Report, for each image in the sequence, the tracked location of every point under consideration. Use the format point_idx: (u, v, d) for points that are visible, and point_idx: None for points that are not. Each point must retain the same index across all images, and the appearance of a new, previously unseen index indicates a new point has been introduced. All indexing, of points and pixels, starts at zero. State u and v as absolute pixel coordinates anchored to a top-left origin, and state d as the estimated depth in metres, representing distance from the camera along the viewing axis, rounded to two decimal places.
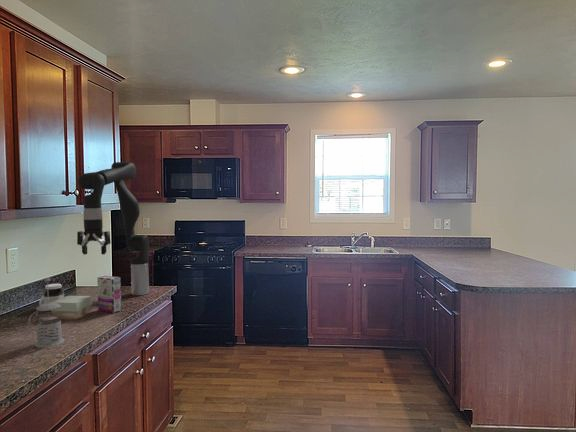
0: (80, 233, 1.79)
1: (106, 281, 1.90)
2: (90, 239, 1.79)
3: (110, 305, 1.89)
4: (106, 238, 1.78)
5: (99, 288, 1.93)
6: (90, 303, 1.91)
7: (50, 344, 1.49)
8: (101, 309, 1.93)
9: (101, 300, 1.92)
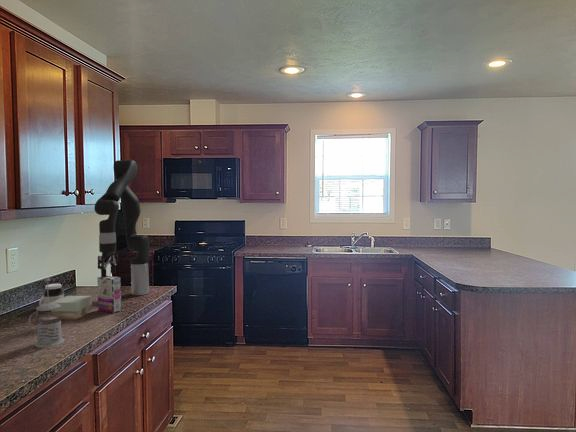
0: None
1: (106, 281, 1.90)
2: None
3: (110, 305, 1.89)
4: (117, 258, 1.99)
5: (99, 288, 1.93)
6: (90, 303, 1.91)
7: (50, 344, 1.49)
8: (101, 309, 1.93)
9: (101, 300, 1.92)
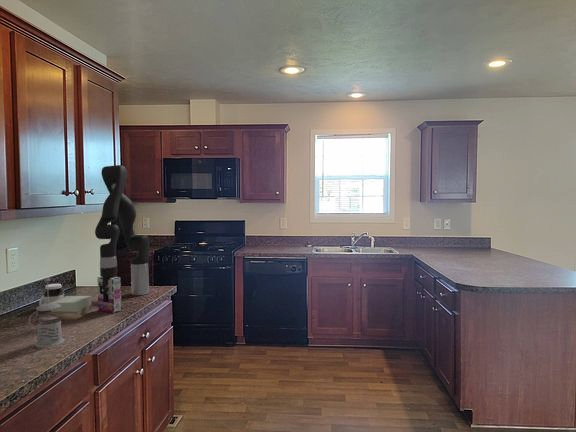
0: None
1: None
2: None
3: (110, 305, 1.89)
4: None
5: None
6: (89, 303, 1.91)
7: (50, 344, 1.49)
8: (101, 309, 1.93)
9: (101, 300, 1.92)
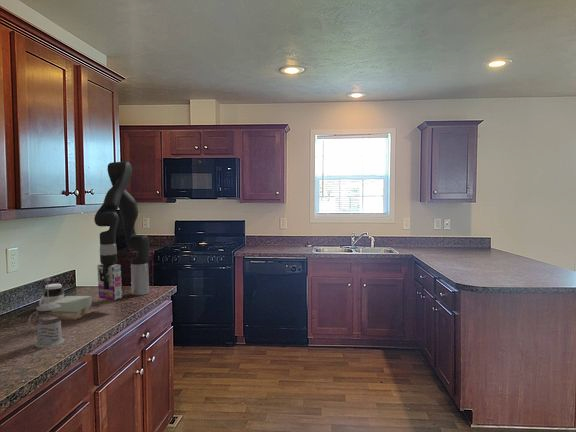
0: None
1: None
2: None
3: (111, 293, 1.89)
4: None
5: (99, 276, 1.93)
6: (89, 303, 1.91)
7: (50, 344, 1.49)
8: (101, 297, 1.93)
9: (101, 288, 1.92)
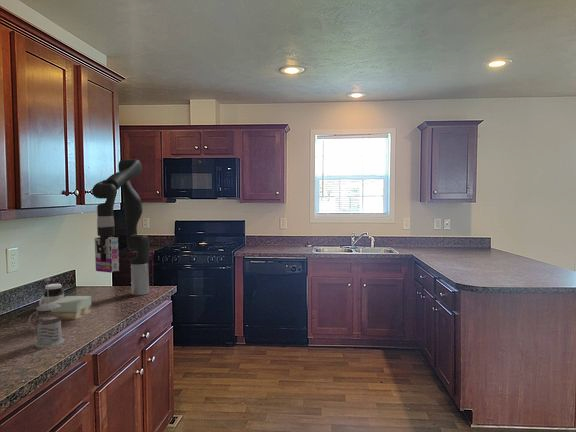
0: None
1: None
2: None
3: (108, 265, 1.88)
4: None
5: (96, 248, 1.91)
6: (89, 303, 1.91)
7: (50, 344, 1.49)
8: (98, 270, 1.91)
9: (98, 260, 1.91)
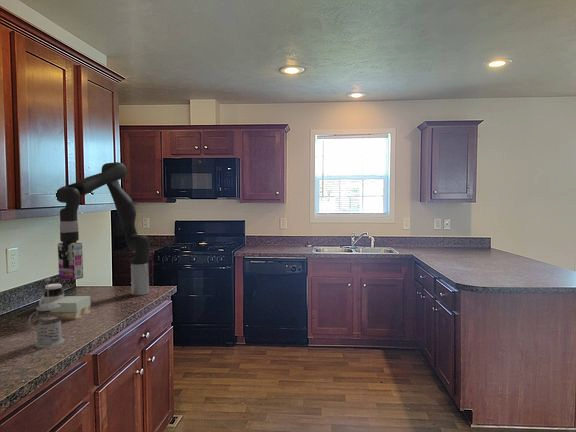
0: None
1: None
2: None
3: (71, 272, 1.82)
4: None
5: None
6: (88, 303, 1.91)
7: (50, 344, 1.49)
8: (61, 276, 1.85)
9: (61, 267, 1.85)
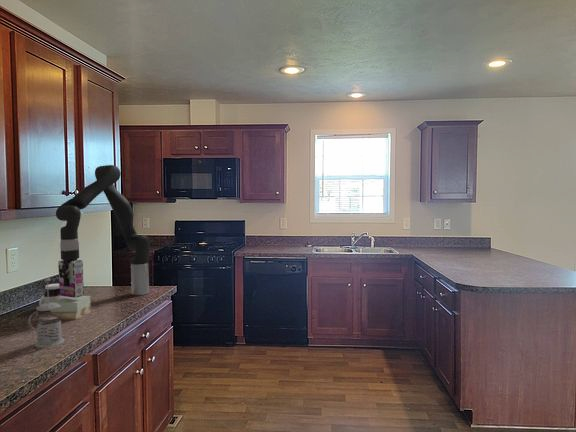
0: None
1: None
2: None
3: (71, 290, 1.82)
4: None
5: None
6: (88, 303, 1.91)
7: (50, 344, 1.49)
8: (62, 294, 1.85)
9: (62, 285, 1.85)
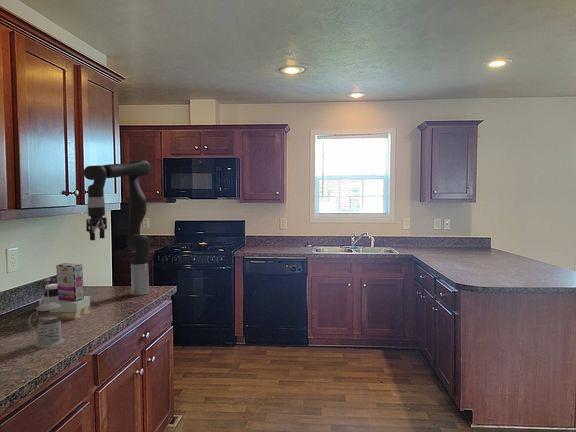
0: None
1: (66, 269, 1.82)
2: (98, 225, 1.96)
3: (72, 293, 1.82)
4: (106, 223, 2.03)
5: (58, 276, 1.84)
6: (88, 303, 1.91)
7: (50, 344, 1.49)
8: (61, 298, 1.85)
9: (61, 289, 1.84)
